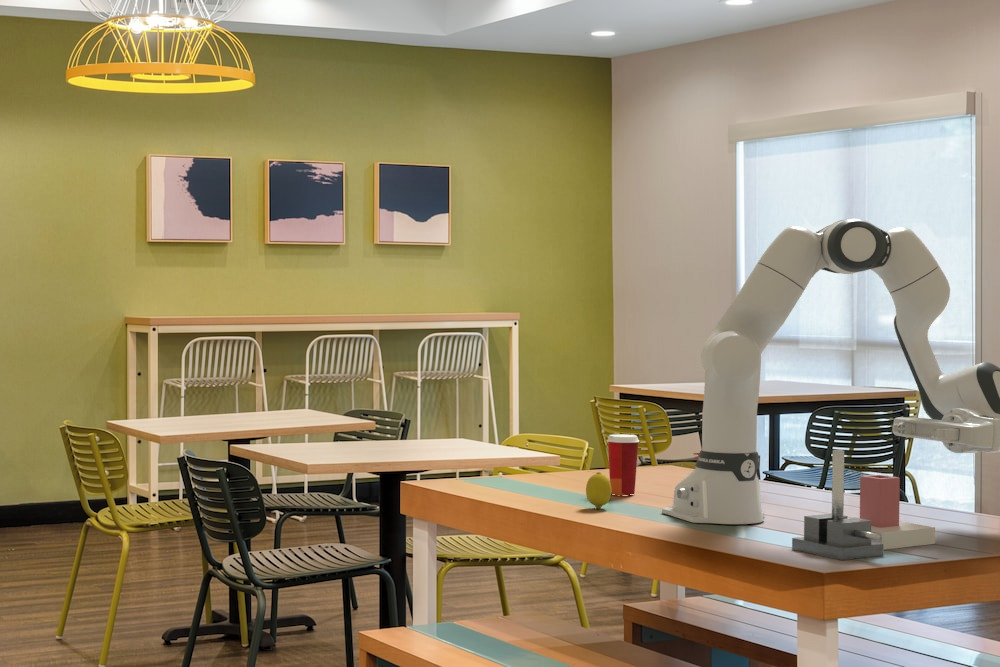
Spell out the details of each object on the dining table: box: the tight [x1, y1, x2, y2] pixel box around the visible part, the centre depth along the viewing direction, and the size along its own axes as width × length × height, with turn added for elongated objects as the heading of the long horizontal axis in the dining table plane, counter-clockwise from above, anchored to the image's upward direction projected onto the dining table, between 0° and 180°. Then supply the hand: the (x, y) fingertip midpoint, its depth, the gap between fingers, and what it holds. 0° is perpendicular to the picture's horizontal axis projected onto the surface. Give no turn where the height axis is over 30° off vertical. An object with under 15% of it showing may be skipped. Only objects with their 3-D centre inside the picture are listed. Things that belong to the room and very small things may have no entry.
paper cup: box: [606, 433, 640, 495], centre depth 290 cm, size 8×8×14 cm
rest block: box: [871, 520, 936, 551], centre depth 230 cm, size 14×14×3 cm
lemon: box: [585, 471, 612, 510], centre depth 267 cm, size 6×6×8 cm
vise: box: [791, 449, 884, 561], centre depth 216 cm, size 16×10×18 cm, turn 30°
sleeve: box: [859, 474, 901, 528], centre depth 230 cm, size 5×5×9 cm
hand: (914, 431), depth 237 cm, fingers open, 8 cm apart
